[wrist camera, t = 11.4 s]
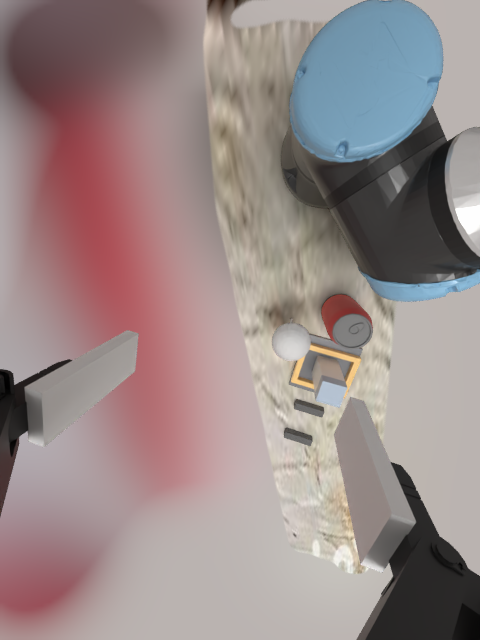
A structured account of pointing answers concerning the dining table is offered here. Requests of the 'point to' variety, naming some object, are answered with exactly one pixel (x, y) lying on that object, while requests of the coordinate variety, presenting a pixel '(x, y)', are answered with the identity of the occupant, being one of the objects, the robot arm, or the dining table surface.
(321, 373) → the plug
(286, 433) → the dark gray parallel bars
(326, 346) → the panel
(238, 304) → the dining table surface
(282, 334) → the lollipop
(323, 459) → the dining table surface
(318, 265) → the dining table surface
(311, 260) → the dining table surface
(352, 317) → the beer can
